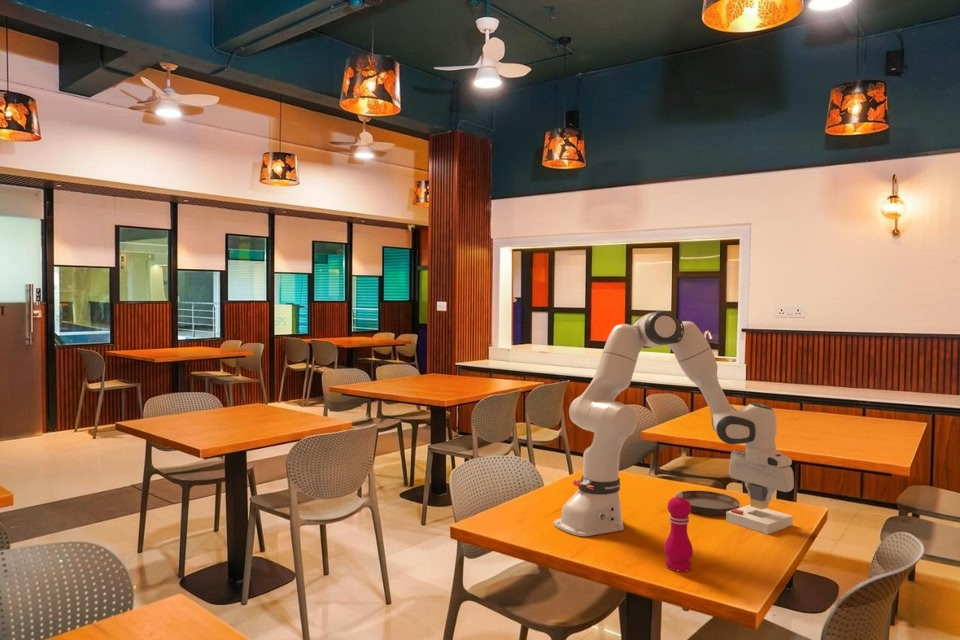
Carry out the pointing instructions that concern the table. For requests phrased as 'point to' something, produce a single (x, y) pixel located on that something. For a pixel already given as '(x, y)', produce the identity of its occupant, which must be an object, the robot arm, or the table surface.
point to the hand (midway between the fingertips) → (759, 498)
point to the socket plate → (759, 519)
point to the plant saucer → (710, 502)
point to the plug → (758, 496)
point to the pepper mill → (678, 534)
